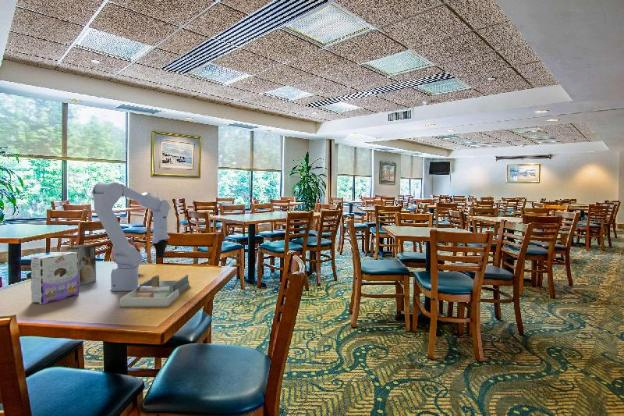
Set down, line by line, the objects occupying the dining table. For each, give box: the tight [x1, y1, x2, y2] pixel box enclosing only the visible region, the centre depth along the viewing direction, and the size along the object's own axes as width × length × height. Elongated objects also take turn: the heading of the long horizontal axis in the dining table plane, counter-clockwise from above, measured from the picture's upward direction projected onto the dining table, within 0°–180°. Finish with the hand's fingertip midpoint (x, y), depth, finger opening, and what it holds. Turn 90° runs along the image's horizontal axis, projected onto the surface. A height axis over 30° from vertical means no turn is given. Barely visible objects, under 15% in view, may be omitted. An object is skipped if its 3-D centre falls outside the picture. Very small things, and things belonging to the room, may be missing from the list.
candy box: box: [30, 251, 80, 305], centre depth 138 cm, size 14×6×16 cm, turn 157°
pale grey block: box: [139, 275, 171, 292], centre depth 140 cm, size 11×2×5 cm, turn 92°
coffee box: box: [66, 244, 97, 286], centre depth 162 cm, size 9×6×16 cm
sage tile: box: [154, 291, 169, 298], centre depth 138 cm, size 4×4×2 cm
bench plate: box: [138, 274, 190, 295], centre depth 150 cm, size 14×17×4 cm
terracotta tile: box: [138, 292, 154, 298], centre depth 138 cm, size 4×4×2 cm
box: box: [119, 289, 180, 308], centre depth 136 cm, size 16×12×3 cm
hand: (160, 257), depth 167 cm, fingers closed
